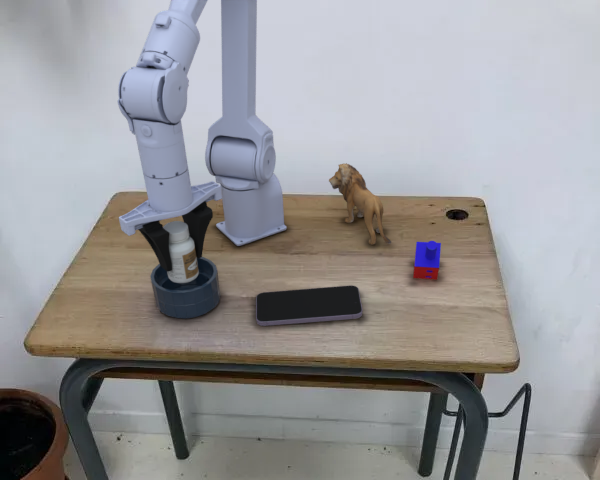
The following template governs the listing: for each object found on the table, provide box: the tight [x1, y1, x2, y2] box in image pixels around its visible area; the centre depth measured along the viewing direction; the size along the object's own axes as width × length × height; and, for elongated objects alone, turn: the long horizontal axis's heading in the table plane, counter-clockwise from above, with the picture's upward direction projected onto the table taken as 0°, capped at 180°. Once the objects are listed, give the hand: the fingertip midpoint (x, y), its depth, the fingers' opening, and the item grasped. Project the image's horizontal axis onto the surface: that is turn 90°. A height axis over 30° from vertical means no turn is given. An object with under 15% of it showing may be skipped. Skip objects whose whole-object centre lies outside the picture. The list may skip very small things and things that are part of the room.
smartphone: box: [255, 284, 363, 327], centre depth 99 cm, size 7×1×15 cm
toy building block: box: [412, 240, 442, 281], centre depth 102 cm, size 4×4×8 cm
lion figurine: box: [328, 162, 392, 246], centre depth 112 cm, size 15×5×9 cm, turn 33°
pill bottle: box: [162, 220, 199, 283], centre depth 96 cm, size 4×4×8 cm
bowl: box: [149, 256, 222, 319], centre depth 100 cm, size 9×9×5 cm
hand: (181, 261), depth 97 cm, fingers closed on pill bottle, 4 cm apart
